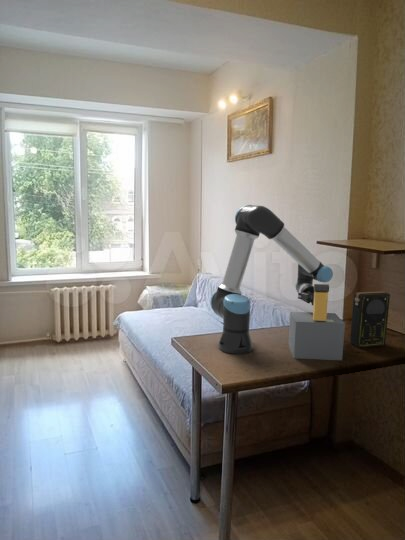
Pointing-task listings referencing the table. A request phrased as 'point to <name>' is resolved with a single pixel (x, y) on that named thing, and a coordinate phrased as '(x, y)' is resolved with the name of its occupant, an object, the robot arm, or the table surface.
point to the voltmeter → (369, 319)
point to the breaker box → (316, 336)
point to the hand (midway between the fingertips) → (320, 304)
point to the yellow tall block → (320, 302)
